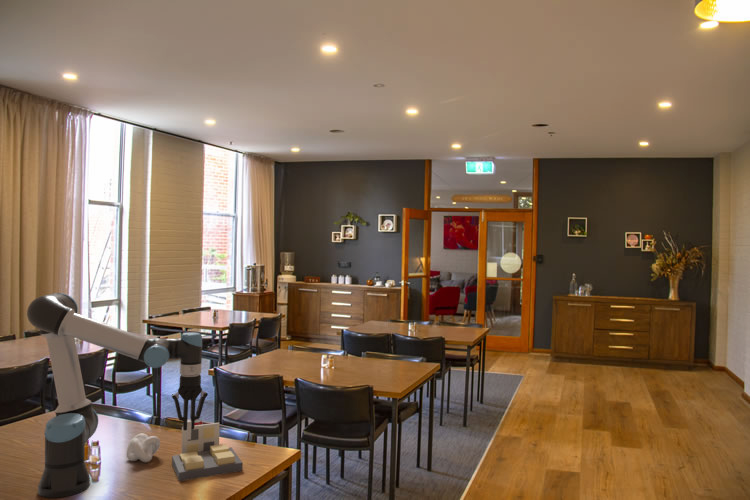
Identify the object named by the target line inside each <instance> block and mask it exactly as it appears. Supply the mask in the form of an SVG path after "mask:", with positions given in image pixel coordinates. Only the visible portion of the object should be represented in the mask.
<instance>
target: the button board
mask: <svg viewBox="0 0 750 500" xmlns="http://www.w3.org/2000/svg"><path fill="white" fill-rule="evenodd" d="M213 445H220V422H212V423H203V425H195V426H194V429H193V430H191V439H190V440H187V439H186V430H184V429H183V426H182V427H181V454H183V453H190V452H197V454H198V456H201V457H202V459H203V461H204V468H197V469H191V470H185V469H184V467H183V462H181V460H180V454H177V455H172V456H171V465H172V467H173V471H174V473H175V474H176V477H177V480H178V482H183V481H189V480H196V479H201V478H208V477H213V476H214V477H215V476H219V475H226V474H231V473H238V472H243V468H244V467H243V465H244V464H243V461H242V460H241V459H240V457H239V456H238V454H237V453H236V451H235V450H234V448H232V447H229V451H231V452H232V453H233V454H234V456H235V463H229V464H223V465H217V464H216V462H215V457H212V456H211V454H210V446H213Z"/></svg>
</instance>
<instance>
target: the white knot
mask: <svg viewBox="0 0 750 500" xmlns="http://www.w3.org/2000/svg"><path fill="white" fill-rule="evenodd" d="M160 446H161V440H160V438H159V437H158V436H156V435H155V436H154V435H151V436H148V435H147V434H146V433H141V432H140V433H138V434H136V435H134V436H133V438H132V439H131V440H130V441H129V444H128V446H127V450H126V458H127V459H128V461H130V462H136V461H138V460H140V461H141V462H143V463H148V462H151V460H152V459H153V455H155V454H156V453H157V452H158V450H159V449H160Z"/></svg>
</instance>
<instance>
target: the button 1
mask: <svg viewBox="0 0 750 500" xmlns="http://www.w3.org/2000/svg"><path fill="white" fill-rule="evenodd" d="M179 455H180V460H181V462H183V458H187V457H194V456H198V454H197V452H190V453H183V454H182V453H180V454H179Z"/></svg>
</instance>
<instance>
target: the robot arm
mask: <svg viewBox="0 0 750 500" xmlns="http://www.w3.org/2000/svg"><path fill="white" fill-rule="evenodd" d="M78 309H79V307H78V304H77V301H76V300H75V299H74V298H73V297H72V296H71V295H69V294H66V293H64V292H63V293H62V292H53V293H49V294H45V295H41V296H38V297H36V298H35V299H33V300H32V302H30V304H29V305H28V307H27V310H26V317H27V320H28V322H29V323H30V325H31V326H33V328H36V329H37V330H39V332H40V334H39V335H40V336H42V337H43V338H45V339H46V343H47V347H48V353H49V360H50V364H51V370H52V375H53V380H54V385H55V391H56V396H57V397H56V398H57V402H58V405H57V407H56V408H55V410H54V413H55V416H53V417H51V418H50V419H49V420H48V421H47V422H46V424H45V429H44V468H43V471H42V475H41V477H40V480H39V484H38V486H37V488H38V490H37V494H38V495H39V496H40V497H42V498H48V499H53V498H54V499H56V498H65V497H69V496H74V495H77V494H79V493H82V492H84V491H85V490H87V489H88V488H89V487H90V485H91V478H90V474H89V472H88V469H87V466H86V464H85V463H86V462H85V453H86V451H85V450H86V449H85V446H86V443H87V442H88V441H89V440H90V439H91V437H92V436H93V435H94V434H95V432H96V431H97V428H98V427H99V416H98V414H97V411H96V410H95V409H94V408H93V403H92V400H90V399H88V398H87V397H86V392H85V387H84V380H83V376H82V370H81V364H80V359H79V354H78V347H77V343H76V339H77V340H80V341H82V342H86V343H89V344H91V345H94V346H98V347H100V348H103V349H106V350H108V351H112V352H115V353H118V354H120V355H123V356H126V357H130V358H132V359H135V360H137V361H140V362H142V363H145V365H146V366H148V367H149V368H152V369H158V368H161V367H163V366H164V365H165V364H167V362H168V360H180V361H179V363H180V364H179V374H180V376H179V387H178V389H177V391H176V392H175V393H173V394H171V398H172V399H173V401H174V406H175V410H176V414H177V418H178V421H180V422H181V421H182V427H183V429H184V430H186V439H187V440H190V439H191V430H193V429H194V421H195V420H196V419H201V414H202V411H203V407H204V403H205V400H206V398H208V395H209V394H208V392H207V391H204V390H203V388H202V375H201V373H202V359H203V357H202V356H203V336H202V334H201V333H199V332H192V331H191V332H183V333H182V334H181V335H180V336H181V337H179V338H159V337H156V338H149V339H148V338H145V337H143V336H140V335H137V334H135V333H132V332H129V331H126V330H123V329H120V328H117V327H116V326H112V325H109V324H106V323H104V322H100V321H98V320H95V319H94V318H93V319H92V318H90V317H87V316H84V315H82V314H79V313H78ZM199 396H200V398H199V402H198V404H197V405H198V406H197V408H196V401H197V398H198V397H199ZM180 397H181V398H182V400H183V408H182V409H183V415H182V410H181V406H180V401H179V398H180ZM189 401H190V414H188V413H189V412H188V411H189ZM189 415H190V419H189V418H188V417H189Z"/></svg>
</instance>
